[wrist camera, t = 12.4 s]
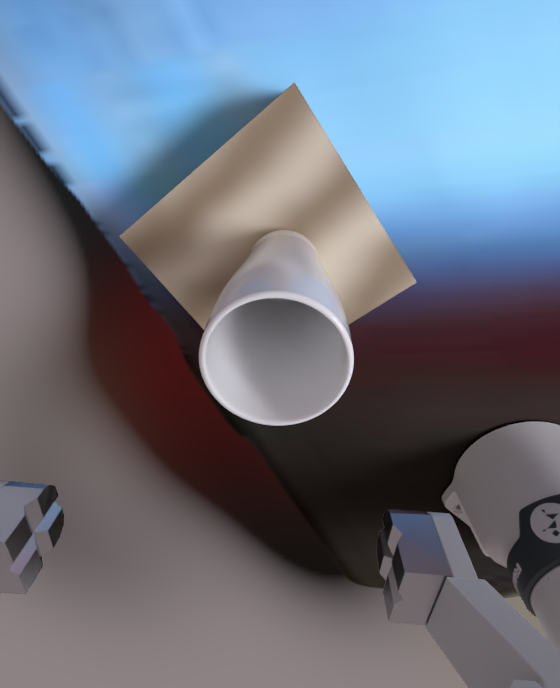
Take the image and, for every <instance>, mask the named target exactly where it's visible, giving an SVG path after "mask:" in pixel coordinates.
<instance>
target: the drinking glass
mask: <svg viewBox="0 0 560 688" xmlns="http://www.w3.org/2000/svg"><path fill="white" fill-rule="evenodd" d="M199 365H200V371H201V374H202V377H203V380H204V382H205V384H206V386H207V388H208V389H209V391H210V392H211V394H212V395H213V396H214V398H215V399H216V400H217V401H218V402H219V403H220V404H221V405H222V406H224V407H225V408H226V409H227V410H229V411H230V412H232V413H234V414H235V415H237V416H239V417H241V418H243V419H246V420H248V421H251V422H255V423H259V424H264V425H275V426H282V425H292V424H297V423H301V422H304V421H307V420H310V419H312V418H315V417H317V416H318V415H320V414H322V413H324V412H325V411H326V410H328V409H329V408H330V407H331V406H333V405H334V404H335V403H336V402H337V401H338V399H339V398H340V397H341V396H342V394H343V393H344V391H345V390H346V388H347V386H348V384H349V381H350V379H351V376H352V372H353V366H354V353H353V347H352V341H351V335H350V330H349V325H348V321H347V317H346V314H345V311H344V307H343V305H342V302H341V300H340V297H339V295H338V293H337V291H336V289H335V287H334V285H333V283H332V282H331V280H330V278H329V276H328V274H327V273H326V271H325V269H324V267H323V265H322V263H321V261H320V259H319V255H318V252H317V250H316V248H315V246H314V245H313V244H312V243H311V241H310V240H309V239H308V238H306V237H305V236H303V235H302V234H300V233H298V232H295V231H291V230H277V231H273V232H270V233H268V234H266V235H264V236H263V237H262V238H260V239H259V240H258V241H257V242H256V243H255V245H254V246H253V248H252V250H251V252H250V254H249V256H248V257H247V258H246V259H245V261H244V262H243V263H242V265H241V266H240V267H239V268H238V270H237V271H236V272H235V273H234V275H233V276H232V277H231V278H230V280H229V281H228V283H227V284H226V285H225V287H224V288H223V290H222V292H221V293H220V295H219V297H218V299H217V300H216V302H215V304H214V307H213V309H212V311H211V314H210V316H209V318H208V321H207V324H206V327H205V330H204V333H203V335H202V338H201V342H200V347H199Z"/></svg>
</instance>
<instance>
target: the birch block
mask: <svg viewBox="0 0 560 688" xmlns="http://www.w3.org/2000/svg"><path fill="white" fill-rule="evenodd" d="M277 230H291V231H295V232H298V233H300V234H302V235H303V236H305V237H306V238H308V239H309V240H310V241H311V243H312V244H313V245H314V246H315V248H316V250H317V252H318V255H319V259H320V261H321V263H322V265H323V267H324V269H325V271H326V273H327V274H328V276H329V278H330V280H331V282H332V283H333V285H334V287H335V289H336V291H337V293H338V295H339V297H340V300H341V302H342V305H343V307H344V311H345V314H346V317H347V321H348V325H349V324H350V323H352V322H353V321H355V320H357V319H358V318H360V317H361V316H363V315H365V314H366V313H368V312H370V311H371V310H373V309H374V308H376V307H378V306H379V305H381V304H382V303H384V302H386V301H387V300H389V299H390V298H392V297H394V296H395V295H397V294H398V293H400V292H402V291H403V290H405V289H407V288H408V287H410V286H411V285H413V284H415V283H416V280H415V278H414V277H413V275H412V274H411V272H410V270H409V269H408V267H407V265H406V264H405V262H404V261H403V259H402V257H401V256H400V254H399V252H398V251H397V249H396V247H395V246H394V244H393V243H392V241H391V239H390V238H389V236H388V234H387V233H386V231H385V230H384V228H383V226H382V225H381V223H380V221H379V220H378V218H377V216H376V215H375V213H374V212H373V210H372V208H371V207H370V205H369V203H368V202H367V200H366V198H365V197H364V195H363V194H362V192H361V190H360V189H359V187H358V185H357V184H356V182H355V181H354V179H353V177H352V176H351V174H350V172H349V171H348V169H347V167H346V166H345V164H344V163H343V161H342V159H341V158H340V156H339V154H338V153H337V151H336V150H335V148H334V146H333V145H332V143H331V141H330V140H329V138H328V136H327V135H326V133H325V132H324V130H323V128H322V127H321V125H320V123H319V122H318V120H317V118H316V117H315V115H314V114H313V112H312V110H311V109H310V107H309V105H308V104H307V102H306V101H305V99H304V97H303V96H302V94H301V92H300V91H299V89H298V87H297V86H296V84H295V83H293V84H292V85H291V86H290V87H289V88H288V89H286V90H285V91H284V92H283V93H282V94H281V95H280V96H278V97H277V98H276V99H275V100H274V101H273V102H272V103H270V104H269V105H268V106H267V107H266V108H265V109H264V110H262V111H261V112H260V113H259V114H258V115H257V116H256V117H255V118H253V119H252V120H251V121H250V122H249V123H248V124H247V125H245V126H244V127H243V128H242V129H241V130H240V131H239V132H237V133H236V134H235V135H234V136H233V137H232V138H231V139H229V140H228V141H227V142H226V143H225V144H224V145H223V146H221V147H220V148H219V149H218V150H217V151H216V152H215V153H214V154H212V155H211V156H210V157H209V158H208V159H207V160H206V161H204V162H203V163H202V164H201V165H200V166H199V167H198V168H196V169H195V170H194V171H193V172H192V173H191V174H190V175H188V176H187V177H186V178H185V179H184V180H183V181H182V182H180V183H179V184H178V185H177V186H176V187H175V188H174V189H173V190H171V191H170V192H169V193H168V194H167V195H166V196H165V197H163V198H162V199H161V200H160V201H159V202H158V203H157V204H155V205H154V206H153V207H152V208H151V209H150V210H149V211H147V212H146V213H145V214H144V215H143V216H142V217H141V218H140V219H138V220H137V221H136V222H135V223H134V224H133V225H132V226H130V227H129V228H128V229H127V230H126V231H125V232H124V233H122V234H121V235H120V236H119V237H120V238H121V239H122V240H123V241H124V242H125V243H126V244H127V246H128V247H129V248H130V249H131V250H132V251H133V252H134V253H135V254H136V256H137V257H138V258H139V259H140V260H141V261H142V262H143V263H144V264H145V265H146V267H147V268H148V269H149V270H150V271H151V272H152V273H153V274H154V275H155V276H156V278H157V279H158V280H159V281H160V282H161V283H162V284H163V285H164V286H165V287H166V289H167V290H168V291H169V292H170V293H171V294H172V295H173V296H174V297H175V298H176V300H177V301H178V302H179V303H180V304H181V305H182V306H183V307H184V308H185V310H186V311H187V312H188V313H189V314H190V315H191V316H192V317H193V318H194V319H195V321H196V322H197V323H198V324H199V325H200V326H201V327H202V328H203V329H204V330H205V327H206V324H207V321H208V318H209V316H210V314H211V311H212V309H213V307H214V304H215V302H216V300H217V299H218V297H219V295H220V293H221V292H222V290H223V288H224V287H225V285H226V284H227V283H228V281H229V280H230V278H231V277H232V276H233V275H234V273H235V272H236V271H237V270H238V268H239V267H240V266H241V265H242V263H243V262H244V261H245V259H246V258H247V257H248V256H249V254H250V252H251V250H252V248H253V246H254V245H255V243H256V242H257V241H258V240H259V239H260V238H262V237H263V236H264V235H266V234H268V233H270V232H273V231H277Z"/></svg>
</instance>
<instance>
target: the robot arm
mask: <svg viewBox="0 0 560 688" xmlns="http://www.w3.org/2000/svg"><path fill="white" fill-rule="evenodd" d="M57 497H58V493H57V490H56V488H55V486H52V485H44V484H34V483H23V482H14V481H2V480H0V593H13V594H26V593H27V592H28V590H29V588H30V587H31V585H32V583H33V582H34V580H35V578H36V576H37V575H38V573H39V572H40V570H41V568H42V565H43V564H42V556H43V555H45V554H46V553H47V552H49V551H50V550H51V549H53V548H54V546H55V544H56V543H57V541H58V539H59V537H60V534H61V531H62V528H63V525H64V514H63V511H62V508H61V507H60V506H59V505H58V504H56V503H55V502H54V501H55V500H56V498H57ZM441 499H442V502H443V504H444V505H445V507H446V508H447V509H448V510H449V511H451V512H452V513H453V514H455V515H456V516H457V517H458V518H460V519H461V520H462V521H463V522H465V523H466V524H467V525H469V526H470V528H471V530H472V532H473V534H474V536H475V538H476V540H477V542H478V544H479V546H480V548H481V550H482V551H483V553H484V554H485V555H486V556H490V557H491V558H492V559H493V560H494V561H495V562H497V563H498V564H500V565H502V566H504V567H506V568H507V569H508V572H509V574H510V576H511V578H512V580H513V584H514V587H515V589H516V591H517V593H518V594H519V596H520V597H521V598H522V600H523V601H524V603H525V605H526V607H527V609H528V610H529V611H530V612H531V613H532V614H533V615H534V616H536V617H537V619H538V621H539V622H540V624H541V627H542V629H543V631H544V633H545V635H546V637H547V638H548V640H547V639H546V638H545V637H544V636H543V635H542V634H541V633H540V632H539V631H538V630H537V629H535V628H534V627H533V626H532V625H531V624H530V623H529V622H528V621H527V620H526V619H525V618H524V617H523V616H522V615H521V614H520V613H519V612H518V611H517V610H516V609H515V608H513V606H512V605H510V604H509V603H508V602H507V601H506V600H505V599H504V598H503V597H502V596H501V595H500V594H499V593H498V592H497V591H496V590H495V589H494V588H493V587H492V586H491V585H490V584H489V583H488V582H487V581H486V580H482V579H478V577H477V575H476V573H475V570H474V568H473V565H472V563H471V560H470V558H469V556H468V553H467V551H466V548H465V546H464V544H463V541H462V539H461V536H460V534H459V531H458V529H457V527H456V524H455V522H454V519H453V517H452V516H451V515H450V514H449V513H436V512H426V511H411V510H394V509H386V511H385V512H384V515H383V519H382V520H383V524H384V528H383V529H382V530H381V531H379V535H378V540H377V561H378V568H379V573H380V574H381V575H382V576H383V578H384V579H385V580H386V583H385V586H384V590H383V595H384V599H385V605H386V610H387V615H388V620H389V622H396V623H406V624H416V625H425V626H426V628H427V630H428V631H429V633H430V634H431V636H432V637H433V639H434V640H435V641H436V643H437V644H438V646H439V647H440V648H441V650H442V651H443V652H444V654H445V655H446V657H447V658H448V660H449V661H450V663H451V664H452V665H453V667H454V668H455V670H456V671H457V672H458V674H459V675H460V677H461V678H462V679H463V681H464V682H465V684H466V685H467V686H468V688H560V425H557V424H553V423H548V422H522V423H516V424H512V425H508V426H505V427H502V428H499V429H497V430H494V431H492V432H490V433H488V434H486V435H485V436H483V437H481V438H480V439H479V440H477V441H476V442H475V443H473V444H472V445H471V446H470V447H469V448H468V449H467V450H466V451H465V452H464V454H463V455H462V456H461V458H460V460H459V461H458V463H457V466H456V469H455V473H454V478H453V481H452V483H451V484H450V486H449V487H448V488H447V489H446V491H445V492H444V493H443V495H442V498H441Z"/></svg>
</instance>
